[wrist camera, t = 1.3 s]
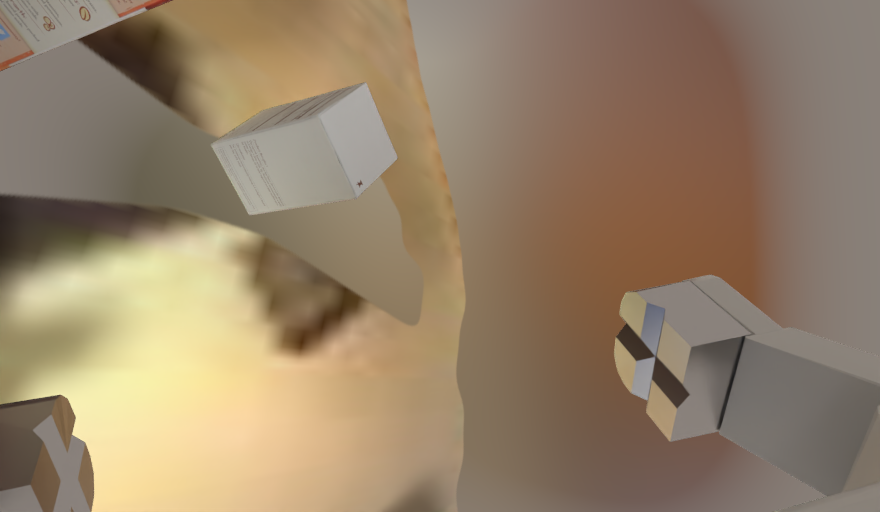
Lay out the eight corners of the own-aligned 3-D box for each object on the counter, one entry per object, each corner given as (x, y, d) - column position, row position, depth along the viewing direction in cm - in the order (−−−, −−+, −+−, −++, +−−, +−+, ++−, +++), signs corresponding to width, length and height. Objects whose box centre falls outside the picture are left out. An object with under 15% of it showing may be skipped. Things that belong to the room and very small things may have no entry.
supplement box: (295, 179, 65) (401, 160, 59) (247, 217, 60) (357, 201, 53) (260, 108, 62) (368, 79, 56) (206, 141, 57) (318, 114, 50)
